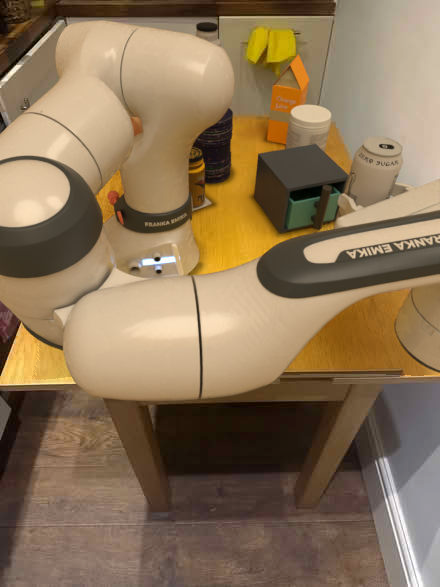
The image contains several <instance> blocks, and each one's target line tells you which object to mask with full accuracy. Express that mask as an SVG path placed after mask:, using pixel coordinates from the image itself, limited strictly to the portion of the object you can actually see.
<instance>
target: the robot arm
mask: <svg viewBox="0 0 440 587" xmlns="http://www.w3.org/2000/svg"><path fill="white" fill-rule="evenodd" d="M221 47H222V46H221ZM221 47H219V46H217V45H215V44H213V43H211V42H209V41H206V40H204V39H201V38H199V37H196V35H194V34H192V33H186V32H181V31H180V32H179V31H174V30H168V29H162V28H155V27H150V26H143V25H136V24H129V23H124V22H117V21H111V20H102V19H101V20H88V21H86V20H85V21H80V22H73V23H70V24H68V25H67V26H66V27H64V29H63V30H62V31H61V32H60V34H59V37H58V39H57V42H56V45H55V50H54V51H55V53H54V55H55V56H54V62H55V68H56V73H57V75H58V81H57V82H56V83H55V84H54V85H53V86H52V87H51V88H50V89H49V90H47V92H45V93H44V94H43V95H42V96H40V97H39V99H38V100H36V102H34V103H33V104H32V105H30V107H28V108H27V109H26V110H25V111H23V112H22V113H21V114H20V115H19V116H18V117H17V118H16V119H14V120H13V121H12V122H11V123H9V125H8V126H6V128H4V130H2V131H1V132H0V302H1V303H2V304H3V305H4V306H5V307H6V308H7V309H8V310H10V312H12V314H13V315H14V316H15V317H16V318H17V319H18V320H19V321H20V323H21V324H22V326H23V328H24V329H25V331H27V332H28V333H29V334H30V335H31V336H32V337H33V338H35V339H36V340H38V341H39V342H41V343H42V344H44V345H47V346H49V347H51V348H54V349H56V350H60V351H62V353H63V358H64V362H65V366H66V368H67V370H68V373H69V376H70V377H71V378H72V380H73V382H74V383H75V385H76V386H77V387H78V388H79V389H81V391H83V392H84V393H86V394H88V395H89V396H93V397H96V398H102V399H109V400H110V399H111V400H121V401H134V402H135V401H136V402H182V401H196V400H206V399H207V400H208V399H218V398H226V397H227V398H228V397H231V396H232V397H234V396H238V395H241V394H244V393H248V392H251V391H254V390H258V389H260V388H263V387H266V386H268V385H270V384H272V383H273V382H275V381H276V380H277V379H279V377H281V376H282V375H283V374H284V373H285V372H286V371H287V369H288V368H289V367H290V366H291V365H292V364H293V362H294V361H295V359H296V358H297V357H298V356H299V355H300V353H301V352H302V351H303V350H304V349H305V347H306V346H307V345H308V344H309V343H310V342H311V340H312V339H314V337H315V336H316V335H317V334H318V333H319V332H320V331H321V330H322V329H324V327H325V326H327V325H328V324H329V323H330V322H331V321H332V320H333V319H335V317H337V316H338V315H339V314H340V313H342V312H344V310H346V309H348V308H350V307H351V306H353V305H354V304H356V303H358V302H360V301H363V300H366V299H368V298H370V297H375V296H377V295H378V296H379V295H383V294H389V293H395V292H400V291H404V290H409V292H408V293H407V295H406V297H405V299H404V301H403V302H402V304H401V306H400V308H399V310H398V312H397V315H396V318H395V319H394V324H393V326H394V333H395V335H396V338H397V339H398V343H399V344H400V346H401V347H402V348H403V350H404V351H405V352H406V353H407V355H409V357H411V358H412V359H413V360H414V361H415V362H417V363H418V364H420V365H422V366H423V367H425V368H426V369H429V370H430V371H433V372H436V373H439V374H440V178H439V179H435V180H434V181H431V182H428V183H426V184H423V185H420V186H418V187H415V186H413V185H412V184H407V183H402V182H398V181H396V182H395V185H394V187H393V190H392V193H391V195H390V198H389V199H386V200H383V201H381V202H378V203H376V204H373V205H370V206H368V207H365V208H364V207H362V206H361V205H359V206H356V204H355V201H356V198H357V196H355V195H353V194H352V193H351V192H346V193H343V194H340V195H339V198H338V205H339V206H340V207H341V208H343V209H344V210H345V213H346V215H344V216H341V217H339V218H338V219H337V220H336V221H334V224H333V228H331V229H327V230H321V231H317V232H312V233H307V234H302V235H298V236H295V237H292V238H288V239H286V240H284V241H281V242H279V243H277V244H275V245H273V246H272V247H271V248H269V249H268V250H267V251H266V252H264V253H263V254H262V255H260V256H258V257H256V258H254V259H252V260H250V261H247V262H244V263H243V264H240V265H237V266H234V267H230V268H227V269H224V270H219V271H214V272H210V273H202V274H191V275H190V273H191V272H192V271H194V270H195V268H196V267H197V265H198V263H199V261H200V256H201V253H200V249H199V247H198V245H197V241H196V238H195V234H194V230H193V224H192V221H193V213H194V210H193V203H192V196H191V192H190V191H189V156H190V152H191V149H192V146H193V144H194V142H195V140H196V139H197V137H198V136H199V135H200V134H201V133H202V132H203V131H204V130H206V129H207V128H209V127H211V126H213V125H214V124H215V123H217V122H218V121H219V120H220V119H221V118H222V117H223V116H224V114H225V113H226V111H227V110H228V108H230V106H231V103H232V100H233V97H234V93H235V85H236V83H235V82H236V81H235V72H234V67H233V64H232V62H231V59H230V57H229V54H228V53H227V52H226V50H225V49H224V48H223V47H222V48H221ZM130 117H138V118H140V120H141V122H142V126H143V133H140V134H138V135H136V136H134V131H133V125H132V122H131V119H130ZM118 171H119V174H120V175H119V176H120V182H121V187H122V194H121V195H120V194H119V192H118V191H117V190H111V191H109V192H108V193H107V196H106V197H107V199H108V203H109V204H110V205H111V206H113V214H112V215H111V216H110V217H108V218H107V219H106V220H105V221H104V217H103V216H104V215H103V211H102V208H101V205H100V203H99V201H98V199H97V197H96V196H97V195H98V194H100V192H101V191H102V190H103V189H104V187H105V186H106V185H107V184H108V182H110V181H111V179H112V178H113V177H114V176H115V174H116V173H117V172H118Z"/></svg>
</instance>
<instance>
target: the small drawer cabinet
mask: <svg viewBox="0 0 440 587" xmlns="http://www.w3.org/2000/svg"><path fill="white" fill-rule="evenodd" d="M348 176H349V173H347V172H346V170H344V169H343V168H342V167H341V166H340V165H339V164H338V163H337V162H336V161H334V159H332V157H330V156H329V154H327V152H326V151H325V152H324V151H323V150H322V149H321V148H320V147H319V146H318V145H316V144H312V145H306V146H300V147H294V148H288V149H285V148H283V149H277V150H272V151H266V152H259V153H258V154H257V162H256V172H255V181H254V182H255V183H254V192H253V198H254V200H255V201H256V202H257V204H258V205H259V206H260V208H261V209H262V211H263V212H264V214H265V215H266V216H267V218H268V219H269V221H270V222H271V223H272V225H273V226H274V227H275V229H276V230H277V232H278V233H279V234H284V233H289V232H294V231H297V230H302V229H306V228H312V227H313V224H310V225H306V226H301V227H297V228H292V229H287V227H286V226H285V219H286V213H287V208H288V202H289V196H290V191H295V190H300V189H305V188H310V187H315V186H320V185H325V184H330V183H331V184H332V185H333V186H334V187H335V188H336V189H337V190H338V191H339V192H340V193H341V194H343V193H344V190H345V187H346V183H347V180H348ZM339 208H340V206H339V205H338V206H337V209H336V213H335V216H334V219H333V220H328V221H324V222H323V224H322V225H325V224H329V223H333V222H334V223H335V222H336V218H337V215H338V211H339Z"/></svg>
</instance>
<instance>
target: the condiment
mask: <svg viewBox="0 0 440 587" xmlns="http://www.w3.org/2000/svg"><path fill="white" fill-rule="evenodd" d="M189 191H190V192H191V196H192V203H193V211H197V210H199V209H202V208H205V207H207V206H210V205H212V204H213V203H212V201H211V200H209V199H208V198H207V197H206V183H205V164H204V162H203V153H202V151H201V150H200V149H198V148H195V147H192V149H191V152H190V156H189Z"/></svg>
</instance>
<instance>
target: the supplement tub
mask: <svg viewBox="0 0 440 587" xmlns="http://www.w3.org/2000/svg"><path fill="white" fill-rule="evenodd" d="M331 124H332V113H331V111H330V110H329V109H328V108H325V107H324V106H321V105H317V104H305V105H299V106H296V107H294V108H293V109H292V110H291V113H290V117H289V123H288V131H287V138H286V144H285V147H284V149H288V148H294V147H300V146H306V145H312V144H316V145H318V146H319V147H320V148H321V149H322V150H323V151H324V152H325V153H326V148H327V143H328V140H329V139H328V138H329V133H330V128H331Z"/></svg>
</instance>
